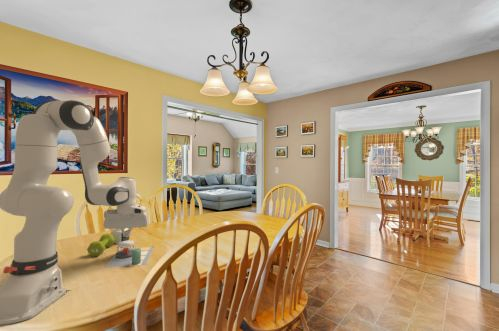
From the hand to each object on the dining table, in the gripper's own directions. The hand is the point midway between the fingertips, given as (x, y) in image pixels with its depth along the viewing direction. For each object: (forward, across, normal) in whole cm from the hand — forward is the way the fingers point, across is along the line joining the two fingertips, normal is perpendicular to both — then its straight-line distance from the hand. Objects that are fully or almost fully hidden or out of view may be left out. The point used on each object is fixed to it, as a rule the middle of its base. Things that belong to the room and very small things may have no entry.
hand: (126, 236), depth 119 cm
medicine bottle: (+11, -10, +23) cm, 28 cm away
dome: (+7, 0, -1) cm, 7 cm away
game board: (+10, +3, -3) cm, 11 cm away
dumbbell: (+11, -15, +9) cm, 20 cm away
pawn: (+9, +7, -12) cm, 16 cm away
